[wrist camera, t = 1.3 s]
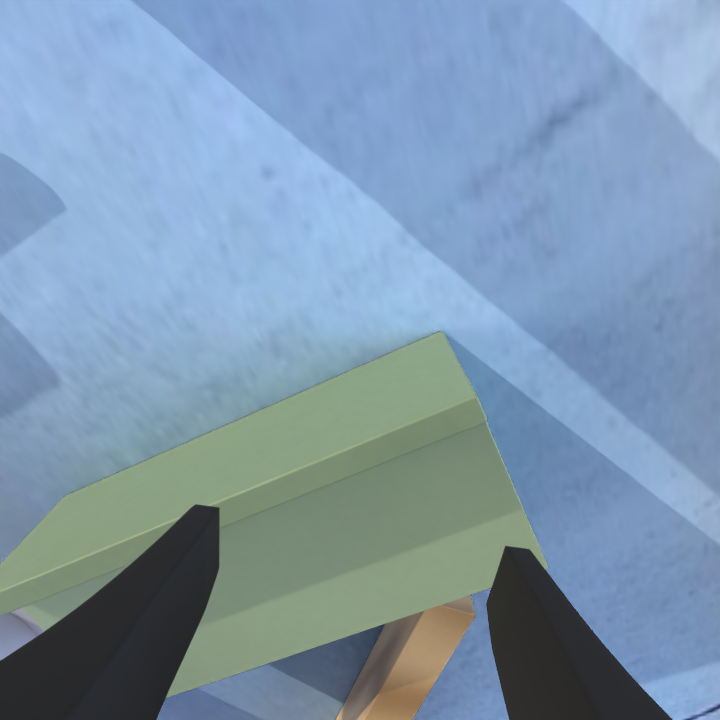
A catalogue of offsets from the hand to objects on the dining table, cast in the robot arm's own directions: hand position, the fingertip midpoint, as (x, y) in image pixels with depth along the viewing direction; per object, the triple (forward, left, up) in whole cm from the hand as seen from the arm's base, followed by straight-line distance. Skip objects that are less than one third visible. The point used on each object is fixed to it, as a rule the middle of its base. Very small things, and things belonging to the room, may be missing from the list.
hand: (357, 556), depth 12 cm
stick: (-14, -9, -10) cm, 20 cm away
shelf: (-6, +1, -10) cm, 12 cm away
